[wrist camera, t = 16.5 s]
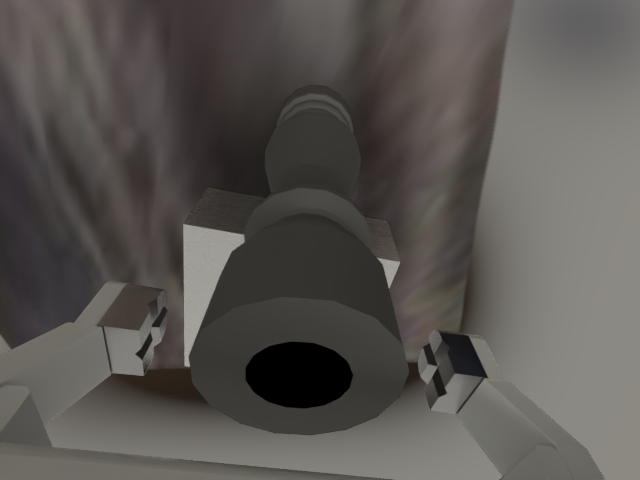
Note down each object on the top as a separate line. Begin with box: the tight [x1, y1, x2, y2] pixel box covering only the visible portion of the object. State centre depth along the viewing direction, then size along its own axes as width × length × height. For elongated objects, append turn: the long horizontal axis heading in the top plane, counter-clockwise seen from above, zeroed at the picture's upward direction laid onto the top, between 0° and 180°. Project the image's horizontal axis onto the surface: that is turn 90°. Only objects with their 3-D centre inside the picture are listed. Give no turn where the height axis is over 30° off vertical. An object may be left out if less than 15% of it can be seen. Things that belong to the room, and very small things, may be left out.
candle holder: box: [188, 85, 409, 435], centre depth 19 cm, size 6×6×25 cm
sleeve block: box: [183, 187, 400, 367], centre depth 36 cm, size 18×18×7 cm
